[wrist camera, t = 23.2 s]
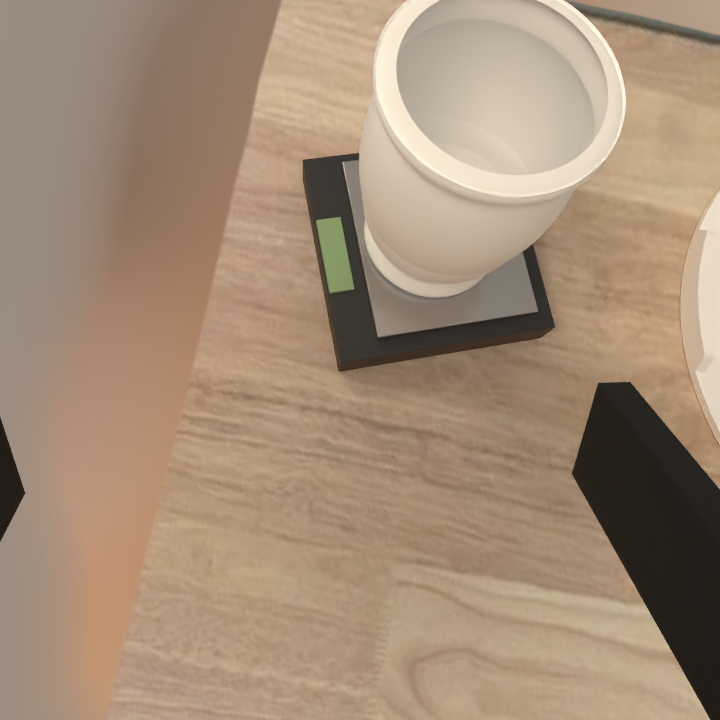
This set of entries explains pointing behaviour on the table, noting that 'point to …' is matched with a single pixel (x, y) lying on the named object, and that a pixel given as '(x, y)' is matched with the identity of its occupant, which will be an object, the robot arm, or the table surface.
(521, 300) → the scale platform
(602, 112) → the jar
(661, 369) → the table surface
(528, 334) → the scale
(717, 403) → the cable organizer
